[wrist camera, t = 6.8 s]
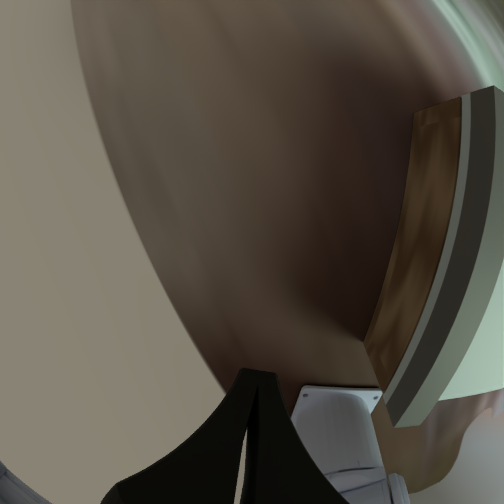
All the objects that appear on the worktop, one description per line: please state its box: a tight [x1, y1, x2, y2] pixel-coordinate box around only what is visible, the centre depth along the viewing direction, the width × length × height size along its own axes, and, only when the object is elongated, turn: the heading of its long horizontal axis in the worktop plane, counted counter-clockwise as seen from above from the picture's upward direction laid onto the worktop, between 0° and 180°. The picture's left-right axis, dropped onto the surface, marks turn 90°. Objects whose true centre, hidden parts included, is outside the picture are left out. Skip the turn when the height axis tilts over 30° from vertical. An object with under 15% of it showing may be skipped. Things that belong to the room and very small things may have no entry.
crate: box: [363, 97, 462, 393], centre depth 14 cm, size 18×18×6 cm
